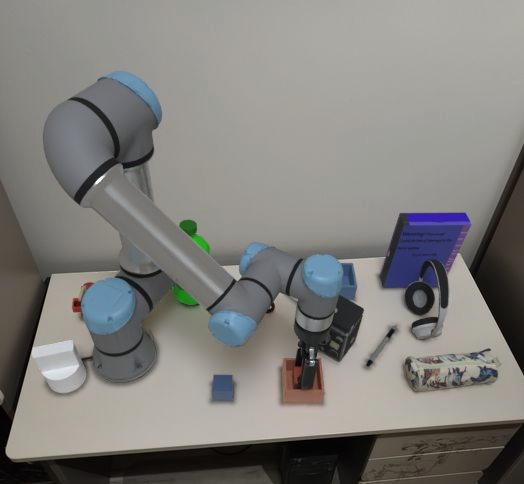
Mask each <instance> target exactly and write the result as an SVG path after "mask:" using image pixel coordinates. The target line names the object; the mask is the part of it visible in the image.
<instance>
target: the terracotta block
mask: <svg viewBox="0 0 524 484" xmlns="http://www.w3.org/2000/svg"><path fill="white" fill-rule="evenodd" d="M301 368H302V367H293V374H292V384H293V389H297V385H298V381H297V377H299V375H301ZM313 385H314V384H313ZM309 389H313V387H310V388H309Z"/></svg>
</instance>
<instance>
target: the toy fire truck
mask: <svg viewBox="0 0 524 484" xmlns="http://www.w3.org/2000/svg"><path fill="white" fill-rule="evenodd" d="M94 283H95V282H92V281H87V282H85V283H84V284H83V285H80V293H79V296H78V297H74V298H72V304H71V310H72V312H73V313H81V317H83V314H82V310H81V302H82V298H83V296H84V294H85V292H86V291H87V289H88V288H89V287H90V286H91V285H93V284H94Z"/></svg>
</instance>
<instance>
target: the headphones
mask: <svg viewBox="0 0 524 484" xmlns="http://www.w3.org/2000/svg"><path fill="white" fill-rule="evenodd" d="M429 266H431V267H432V268H433V270H434V272H435V275H436V279H437V284H438V287H437V290H438V291H437V292H438V313H437V314H438V315H437V316H428V317H423V318H419V319H416V320H414V321H413V322H412V323H411V326H410V327H411V332H412V333H413V334H414V335H415V336H416V338H417V339H418V340H419V339H420V340H424V339H431V338H436V337H438V336H439V337H440V336H442V334H443V332H442V331H443V328H444V322H445V320H446V317H447V314H448V309H449V302H450V281H449V280H450V279H449V274H448V275H447V271H446V269H445V267H444V265H443V264H442V263H441V262H440V261H438V260H436V259H428V260H426V261H425V262H424V263H423V265H422V268H421V272H420V277H419V281H415V282H413V283H411V284H410V285H409V286H408V287H407V288H405V291H404V303H405V306H406V307H407V309H408V310H409V311H410V312H412V313H413V314H414V315H418V316H422V315H426V314H429V312H430V311H431V310H432V309H433V307H434V305H435V302H436V296H435V291H434V288H433V287H430V285H428V284H427V283H425V282H422V280H423V276H424V274H425V272H426V270H427V268H428V267H429Z"/></svg>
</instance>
